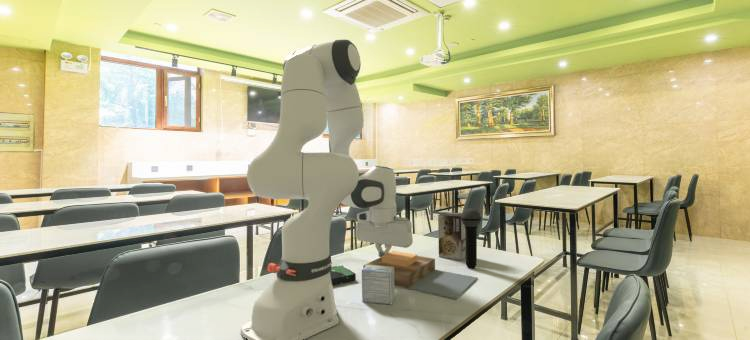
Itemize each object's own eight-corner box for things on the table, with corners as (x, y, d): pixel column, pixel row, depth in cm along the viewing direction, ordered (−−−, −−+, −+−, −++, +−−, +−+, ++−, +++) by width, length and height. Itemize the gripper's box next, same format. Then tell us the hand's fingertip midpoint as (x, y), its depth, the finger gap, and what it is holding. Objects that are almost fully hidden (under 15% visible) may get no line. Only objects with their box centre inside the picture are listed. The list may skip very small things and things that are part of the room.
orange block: (406, 267, 104) (406, 260, 104) (381, 262, 109) (381, 256, 109) (417, 260, 110) (417, 254, 110) (393, 256, 115) (392, 250, 115)
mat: (455, 299, 90) (455, 298, 90) (408, 288, 97) (408, 287, 97) (477, 278, 104) (477, 277, 104) (435, 270, 112) (435, 269, 112)
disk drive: (310, 293, 97) (356, 282, 104) (309, 283, 97) (356, 273, 104) (298, 281, 106) (342, 272, 113) (298, 273, 106) (341, 263, 113)
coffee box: (467, 256, 128) (467, 213, 127) (461, 260, 123) (461, 216, 122) (444, 252, 133) (443, 211, 132) (437, 256, 127) (437, 214, 127)
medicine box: (395, 298, 91) (394, 266, 91) (391, 305, 87) (390, 271, 86) (366, 295, 93) (366, 264, 93) (361, 302, 89) (361, 269, 89)
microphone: (481, 271, 111) (481, 210, 110) (460, 270, 112) (460, 209, 112) (481, 265, 117) (481, 207, 116) (461, 264, 119) (461, 206, 118)
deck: (408, 288, 97) (408, 274, 97) (363, 278, 106) (363, 265, 106) (435, 270, 112) (434, 258, 112) (393, 262, 121) (393, 251, 121)
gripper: (415, 216, 109) (416, 259, 110) (363, 211, 120) (364, 250, 121) (406, 219, 104) (406, 264, 104) (352, 214, 115) (353, 254, 116)
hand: (383, 257), depth 113 cm, fingers closed
